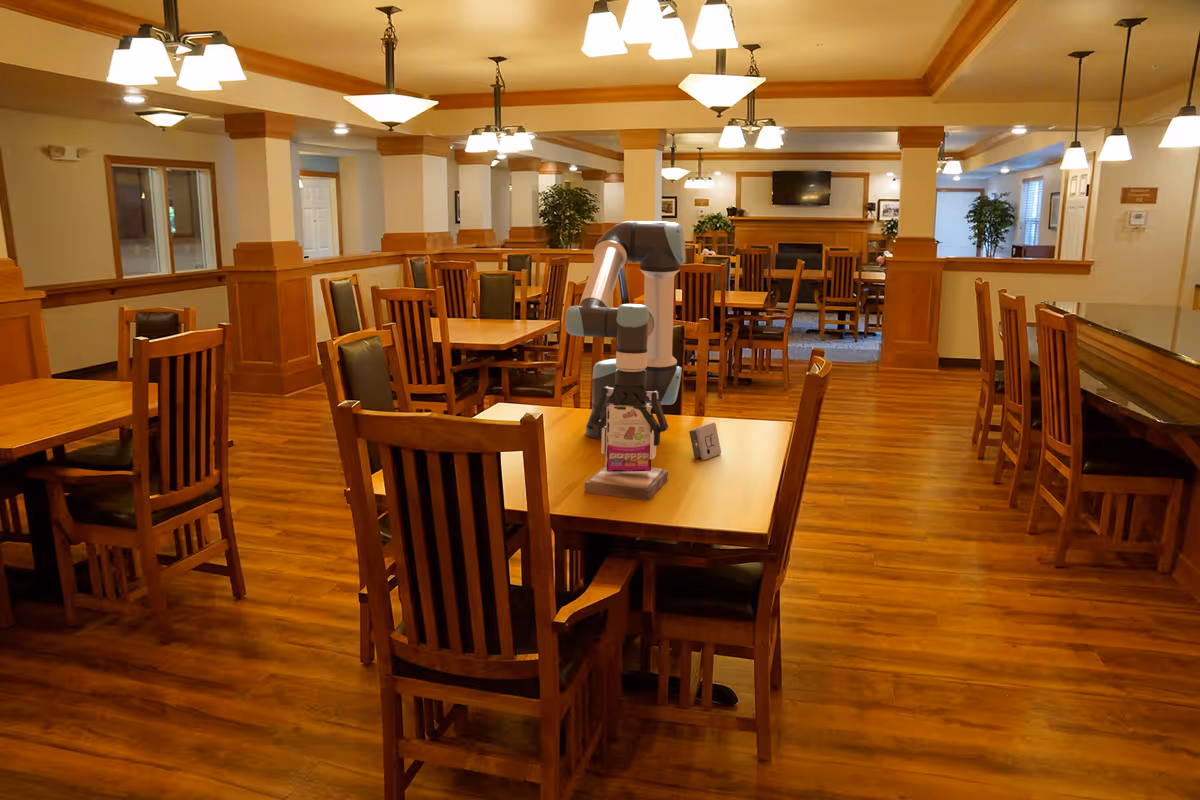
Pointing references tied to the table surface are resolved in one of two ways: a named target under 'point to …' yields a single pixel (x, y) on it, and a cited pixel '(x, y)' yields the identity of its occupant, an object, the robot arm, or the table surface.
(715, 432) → the electrical switch
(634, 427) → the candy bar box
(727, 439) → the table surface
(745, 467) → the table surface
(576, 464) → the table surface
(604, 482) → the pale flat square slab
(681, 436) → the table surface
